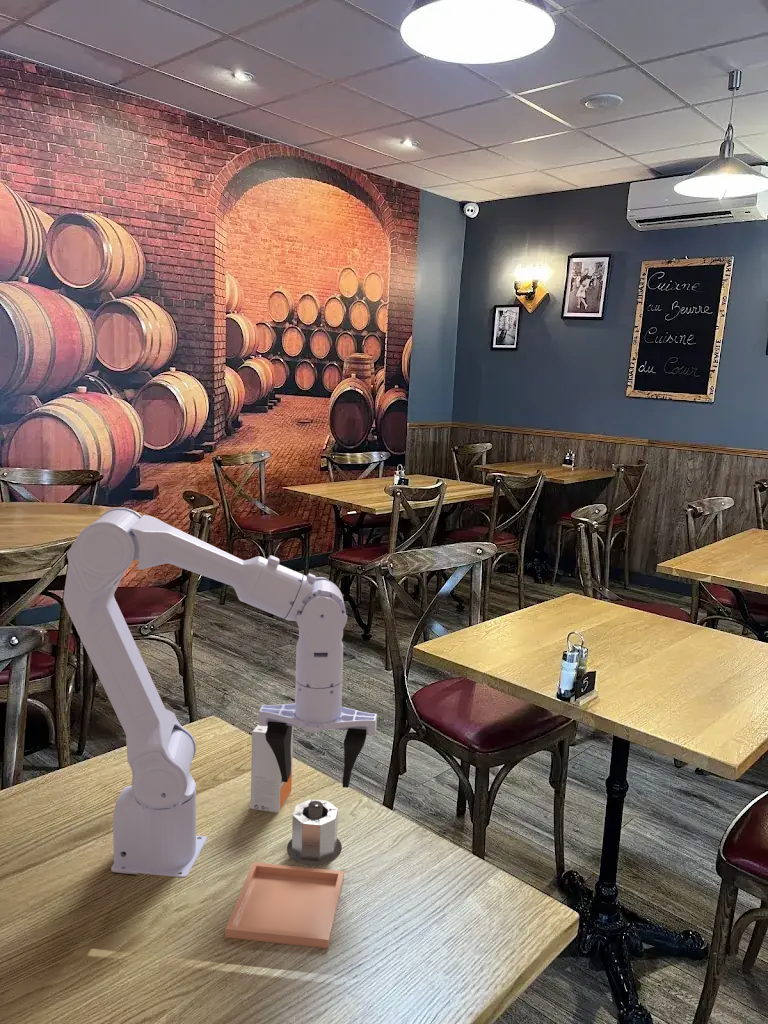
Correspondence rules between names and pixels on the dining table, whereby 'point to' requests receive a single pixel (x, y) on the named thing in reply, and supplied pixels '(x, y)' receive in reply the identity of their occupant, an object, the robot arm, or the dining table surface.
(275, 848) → the dining table surface
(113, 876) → the dining table surface
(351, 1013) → the dining table surface
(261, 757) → the skincare box
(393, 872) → the dining table surface
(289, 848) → the stand
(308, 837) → the octagonal pencil cup
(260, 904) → the tray
